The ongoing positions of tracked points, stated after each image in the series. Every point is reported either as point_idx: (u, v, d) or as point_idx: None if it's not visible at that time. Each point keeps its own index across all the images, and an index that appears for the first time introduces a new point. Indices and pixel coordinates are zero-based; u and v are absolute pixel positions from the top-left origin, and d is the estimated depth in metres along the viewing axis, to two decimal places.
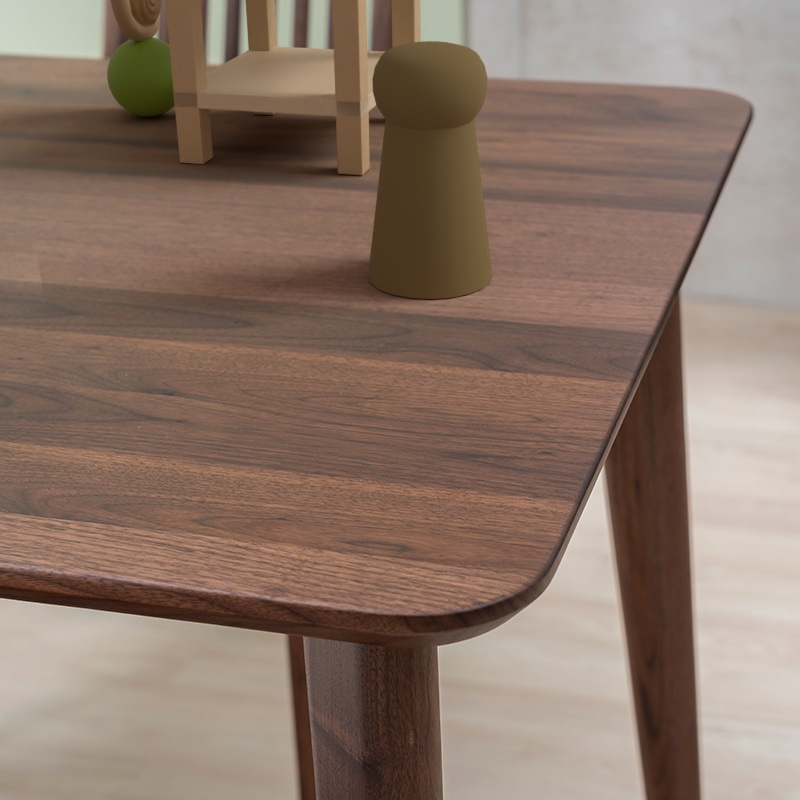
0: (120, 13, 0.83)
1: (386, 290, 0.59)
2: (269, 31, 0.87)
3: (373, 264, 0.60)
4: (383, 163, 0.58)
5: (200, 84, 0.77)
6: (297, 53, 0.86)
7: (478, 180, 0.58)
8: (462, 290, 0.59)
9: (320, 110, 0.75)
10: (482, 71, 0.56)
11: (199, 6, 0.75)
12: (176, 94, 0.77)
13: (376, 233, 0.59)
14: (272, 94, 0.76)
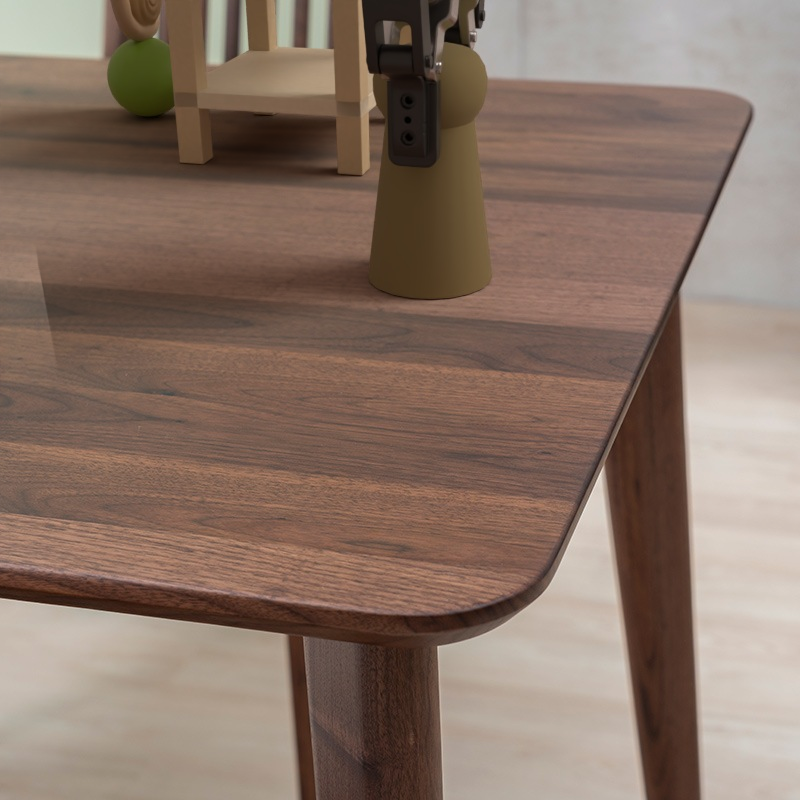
0: (120, 13, 0.83)
1: (386, 290, 0.59)
2: (269, 31, 0.87)
3: (373, 264, 0.60)
4: (383, 163, 0.58)
5: (200, 84, 0.77)
6: (297, 53, 0.86)
7: (478, 180, 0.58)
8: (462, 290, 0.59)
9: (320, 110, 0.75)
10: (482, 71, 0.56)
11: (199, 6, 0.75)
12: (176, 94, 0.77)
13: (376, 233, 0.59)
14: (272, 94, 0.76)
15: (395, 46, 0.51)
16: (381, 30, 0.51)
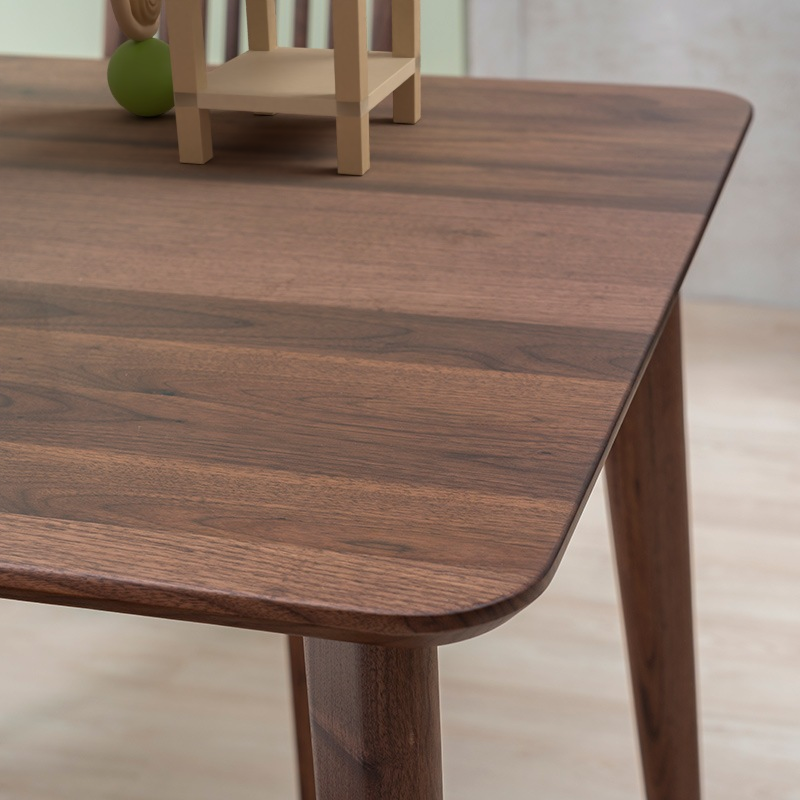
0: (120, 13, 0.83)
1: None
2: (269, 31, 0.87)
3: None
4: None
5: (200, 84, 0.77)
6: (297, 53, 0.86)
7: None
8: None
9: (320, 110, 0.75)
10: None
11: (199, 6, 0.75)
12: (176, 94, 0.77)
13: None
14: (272, 94, 0.76)
15: None
16: None
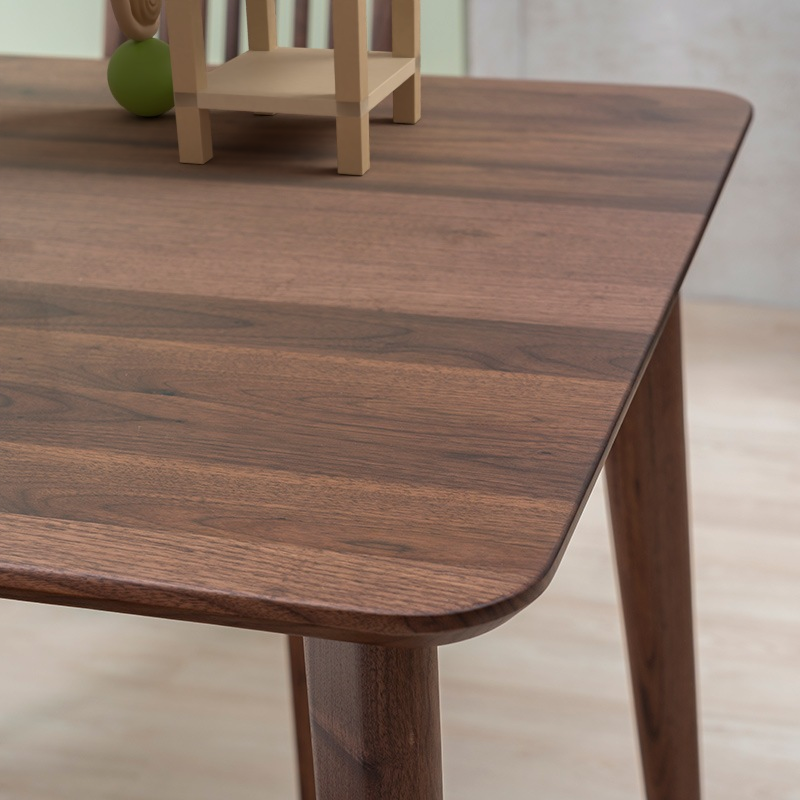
0: (120, 13, 0.83)
1: None
2: (269, 31, 0.87)
3: None
4: None
5: (200, 84, 0.77)
6: (297, 53, 0.86)
7: None
8: None
9: (320, 110, 0.75)
10: None
11: (199, 6, 0.75)
12: (176, 94, 0.77)
13: None
14: (272, 94, 0.76)
15: None
16: None
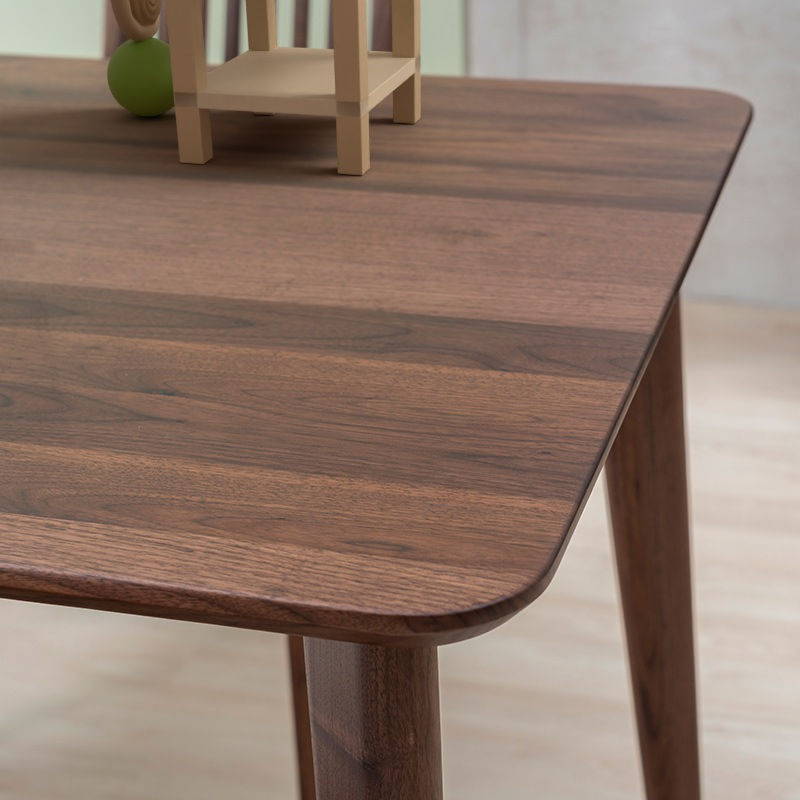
0: (120, 13, 0.83)
1: None
2: (269, 31, 0.87)
3: None
4: None
5: (200, 84, 0.77)
6: (297, 53, 0.86)
7: None
8: None
9: (320, 110, 0.75)
10: None
11: (199, 6, 0.75)
12: (176, 94, 0.77)
13: None
14: (272, 94, 0.76)
15: None
16: None
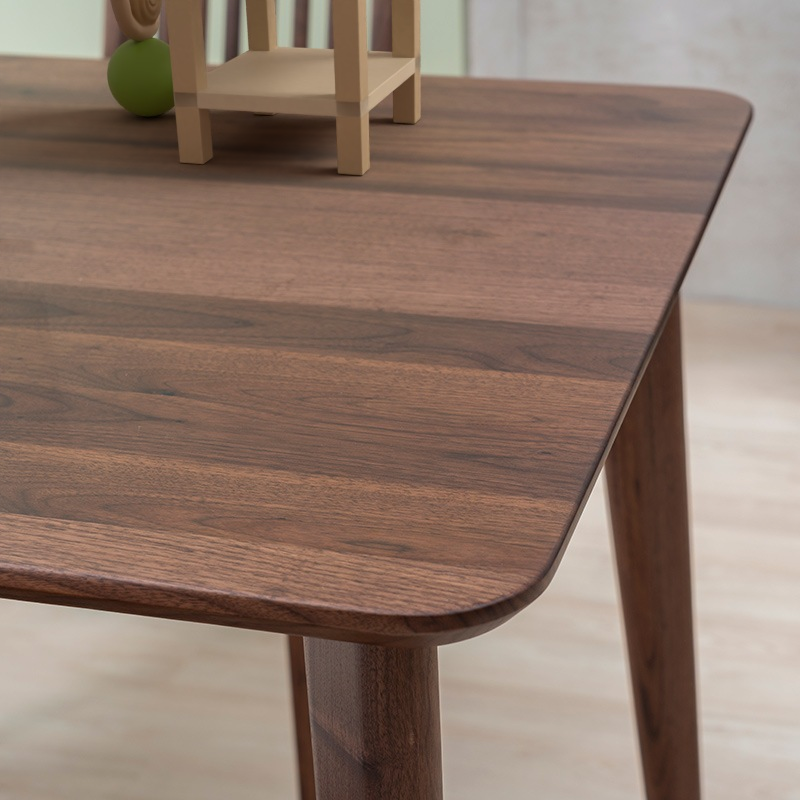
0: (120, 13, 0.83)
1: None
2: (269, 31, 0.87)
3: None
4: None
5: (200, 84, 0.77)
6: (297, 53, 0.86)
7: None
8: None
9: (320, 110, 0.75)
10: None
11: (199, 6, 0.75)
12: (176, 94, 0.77)
13: None
14: (272, 94, 0.76)
15: None
16: None
